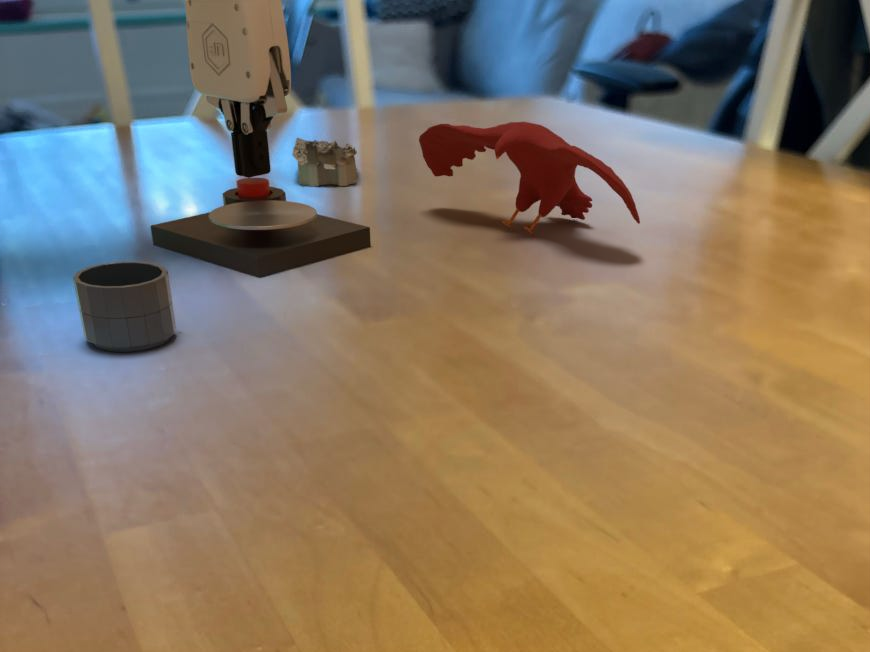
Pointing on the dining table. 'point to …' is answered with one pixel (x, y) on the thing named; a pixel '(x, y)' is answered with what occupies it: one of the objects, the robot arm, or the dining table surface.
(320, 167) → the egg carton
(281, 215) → the grey round platter
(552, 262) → the dining table surface
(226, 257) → the scale
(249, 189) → the tare button
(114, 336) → the cylindrical container
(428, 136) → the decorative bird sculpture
